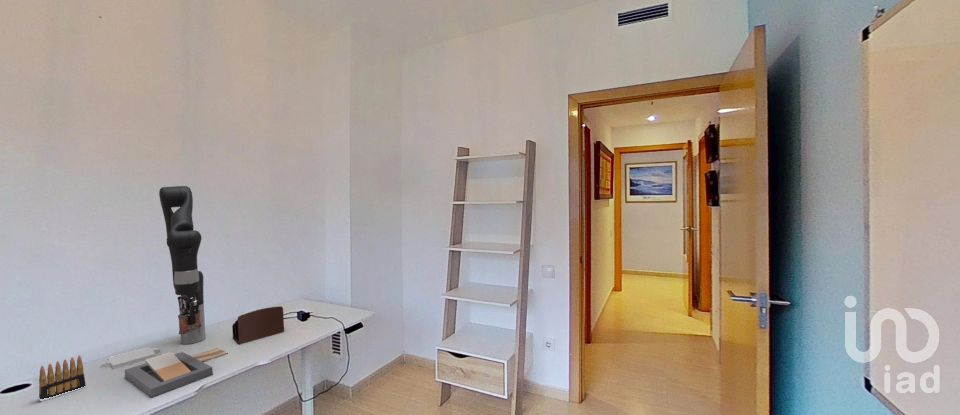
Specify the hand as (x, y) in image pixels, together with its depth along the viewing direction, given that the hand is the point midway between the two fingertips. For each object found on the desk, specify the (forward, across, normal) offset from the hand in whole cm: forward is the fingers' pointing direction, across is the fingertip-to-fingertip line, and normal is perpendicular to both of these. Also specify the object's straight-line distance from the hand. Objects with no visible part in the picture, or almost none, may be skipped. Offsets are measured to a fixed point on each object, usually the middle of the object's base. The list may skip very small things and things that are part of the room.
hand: (189, 323), depth 144 cm
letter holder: (+19, -12, +31) cm, 39 cm away
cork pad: (+19, -7, +8) cm, 21 cm away
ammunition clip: (+19, -18, -32) cm, 41 cm away
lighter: (+3, -1, 0) cm, 3 cm away
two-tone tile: (+15, 0, -8) cm, 16 cm away
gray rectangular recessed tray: (+18, 0, -8) cm, 20 cm away
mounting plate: (+20, -34, -10) cm, 40 cm away
